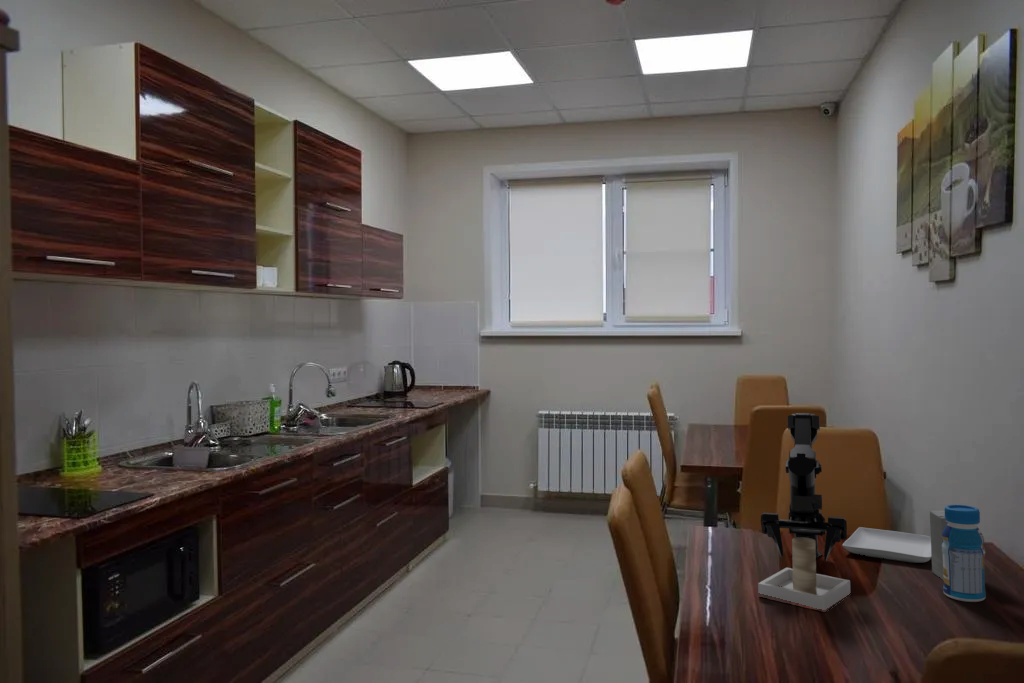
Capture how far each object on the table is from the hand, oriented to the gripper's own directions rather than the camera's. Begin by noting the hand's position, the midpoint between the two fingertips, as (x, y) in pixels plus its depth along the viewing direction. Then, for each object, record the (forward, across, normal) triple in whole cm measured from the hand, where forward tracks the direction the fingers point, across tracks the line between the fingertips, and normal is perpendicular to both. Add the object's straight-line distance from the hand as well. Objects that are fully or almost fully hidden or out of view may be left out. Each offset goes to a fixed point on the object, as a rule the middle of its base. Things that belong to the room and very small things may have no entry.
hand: (803, 558), depth 167 cm
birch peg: (+5, 0, +6) cm, 8 cm away
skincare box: (-11, +34, +24) cm, 43 cm away
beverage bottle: (-1, +33, +14) cm, 36 cm away
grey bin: (+6, 0, +7) cm, 9 cm away
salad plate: (-24, +22, +38) cm, 50 cm away
